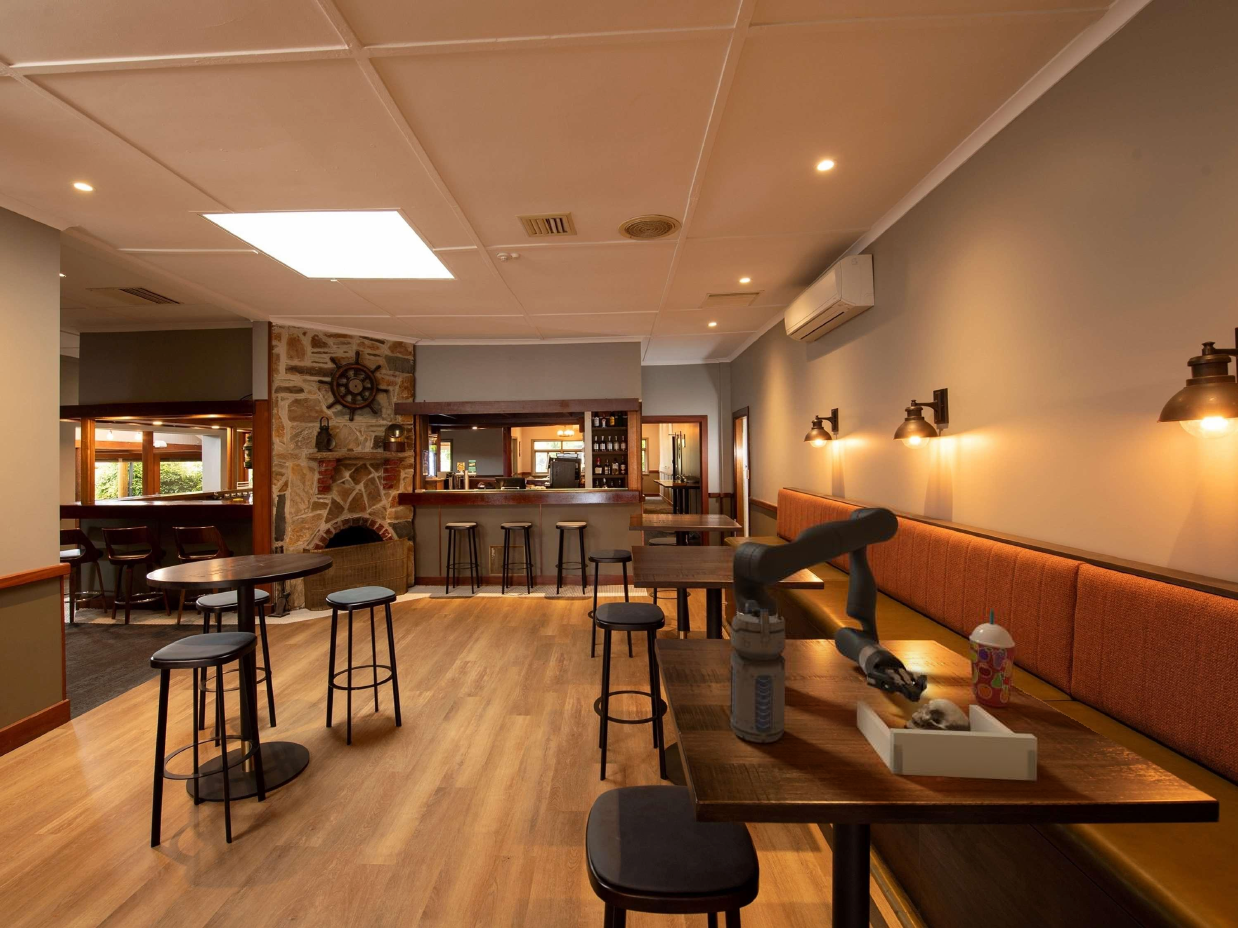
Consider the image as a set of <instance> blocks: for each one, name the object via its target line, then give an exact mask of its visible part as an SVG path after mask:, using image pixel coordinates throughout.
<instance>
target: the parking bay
mask: <svg viewBox="0 0 1238 928" xmlns="http://www.w3.org/2000/svg"><path fill="white" fill-rule="evenodd" d="M968 710H969V711H968V712H969V713H968V715H969V717H968V719H969V721H970V727H971V732H968V731H943V730H918V729H904V728H891V727H890V728H889V727H888V726H887V725H886V723H885V722H884V721H883V720H882V719H881V718H880V716H878V714H877V713H876V712H875V710H873V709H872V707H871V706H870V705H869V703H867V701H866V700H856V727H857V728H858V729H859V730H860V732H861V733H862V735H864V737H865V738H866V740H867V741H868V742H869V744H870V745H871V746H872V747H873V750H875V752H876V753H877V755H879V757H880V759H881V760H882V761H883V762H884V764H885V765H886V766H887V768H888V769H889V770H890V772H891V773H892V774H893V775H907V776H908V775H909V776H910V775H911V776H926V777H929V776H930V777H931V776H932V777H933V776H934V777H946V778H948V777H951V778H968V779H970V778H972V779H973V778H974V779H975V778H976V779H991V780H992V779H995V780H1014V781H1015V780H1016V781H1017V780H1018V781H1035V782H1037V781H1038V780H1037V779H1038V773H1037V772H1038V771H1037V770H1038V769H1037V768H1038V738H1037V737H1036V736H1035V735H1034V734H1032V733H1015V732H1014V731H1012V730H1011V729H1010V728H1008V727H1007V726H1005V725H1004V724H1003V723H1002V722H1000V721H999V720H998V719H997V718H996V717H994V716H993V715H991V714H990V713H989V712H987V711H986V710H985V709H983V708H982V707H981V706H979V705H978V704H969V709H968Z"/></svg>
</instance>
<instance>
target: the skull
mask: <svg viewBox="0 0 1238 928" xmlns="http://www.w3.org/2000/svg"><path fill="white" fill-rule="evenodd" d="M903 729H918V730H943V731H968V732H971V727H970V721H969V717H968V716H967V715H966V713H965V712H964V711H962V709H961V708H960V707H959V706H958V705H956V704H955V703H954V702H952V701H951V700H948V699H945V698H934V699H931V700H929V701H928V704H926V703H925V704H922V707H921V708H918V709H917V711H916V712H913V713H912V714H911V719H910V720H908V721H907V722H905V724H904V725H903Z"/></svg>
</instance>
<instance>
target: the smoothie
mask: <svg viewBox="0 0 1238 928" xmlns="http://www.w3.org/2000/svg"><path fill="white" fill-rule="evenodd" d="M989 612H990V613H989V614H990V615H989V622H986V623H985V622H984V623H982V624H979V625H978V626H976V627H975V628H974V630H973V631H972V633H971V635H969V636H968V638H969V648H970V649H969V651H970V665H971V666H970V667H971V670H970V671H971V682H972V683H971V684H972V686H971V687H972V694H973V695H974V696H975V697H974V698H975V700H976V701H977V702H978V703H979V704H982V705H985V706H988V707H992V708H1005V707H1007V704H1008V702H1010V701H1011V691H1012V680H1013V679H1012V678H1013V670H1014V669H1013V668H1014V667H1013V666H1014V659H1015V658H1014V657H1015V646H1016V643H1015V641H1013V639H1012V638H1013V637H1012V636H1011V634H1010V633H1009V631H1008V630H1006V629H1005V628H1004V627H1002V626H1000V625H999V624H997V623H994V622H995V616H994V615H995V612H994V611H993V610H990V611H989Z"/></svg>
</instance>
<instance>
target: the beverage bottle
mask: <svg viewBox="0 0 1238 928" xmlns="http://www.w3.org/2000/svg"><path fill="white" fill-rule="evenodd" d="M759 612H761V614H758V613H759ZM780 618H781V620H780V619H779V618H777V619H776V618H774V617H771V616H769V612H768V609H760V608H759V605H758V603H757V602H756V601H754V600H748V601H747V602H746V604H745V615H742V616H738V617H737V615H733V617H732V620H731V629H730V640H731V642H730V644H731V646H732V648H733V649H734V651H733V652H732V653H731V655H730V716H729V717H730V718H729V719H730V722H729V724H730V727H731V729H732V731H733V733H734V734H735V735H736V736H738V737H739V738H741V739H745V740H746V741H749V742H752V743H753V742H754V743H759V744H760V743H761V744H763V743H764V744H765V743H767V744H768V743H773V742H776V741H778V740H780V739H781V738H782V736H783V735H784V733H785V707H786V705H785V703H786V701H785V699H786V696H785V695H786V692H785V691H786V658H784V656H783V655H782V653H783V652H784V651H785V650H786V619H785V618H784V616H780Z"/></svg>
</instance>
